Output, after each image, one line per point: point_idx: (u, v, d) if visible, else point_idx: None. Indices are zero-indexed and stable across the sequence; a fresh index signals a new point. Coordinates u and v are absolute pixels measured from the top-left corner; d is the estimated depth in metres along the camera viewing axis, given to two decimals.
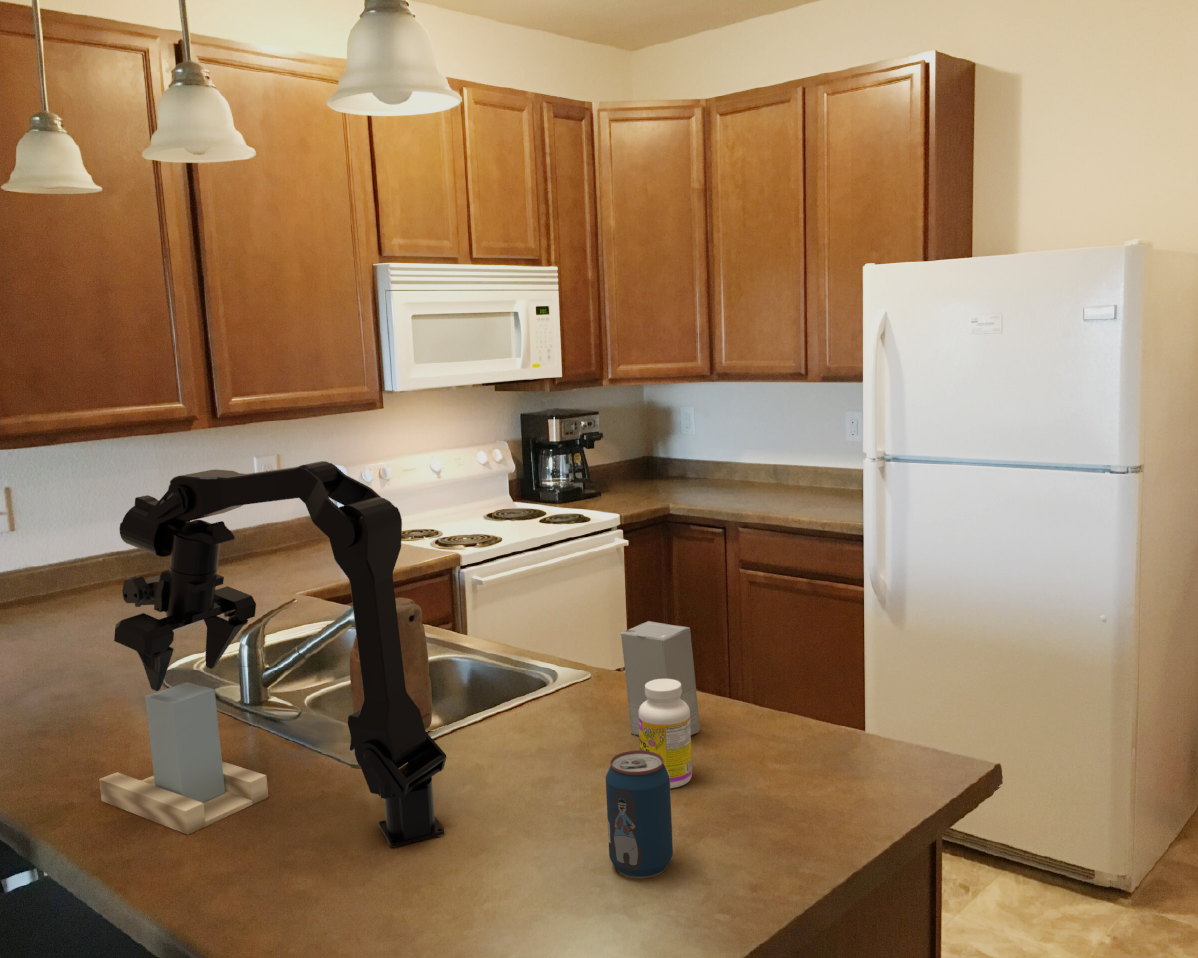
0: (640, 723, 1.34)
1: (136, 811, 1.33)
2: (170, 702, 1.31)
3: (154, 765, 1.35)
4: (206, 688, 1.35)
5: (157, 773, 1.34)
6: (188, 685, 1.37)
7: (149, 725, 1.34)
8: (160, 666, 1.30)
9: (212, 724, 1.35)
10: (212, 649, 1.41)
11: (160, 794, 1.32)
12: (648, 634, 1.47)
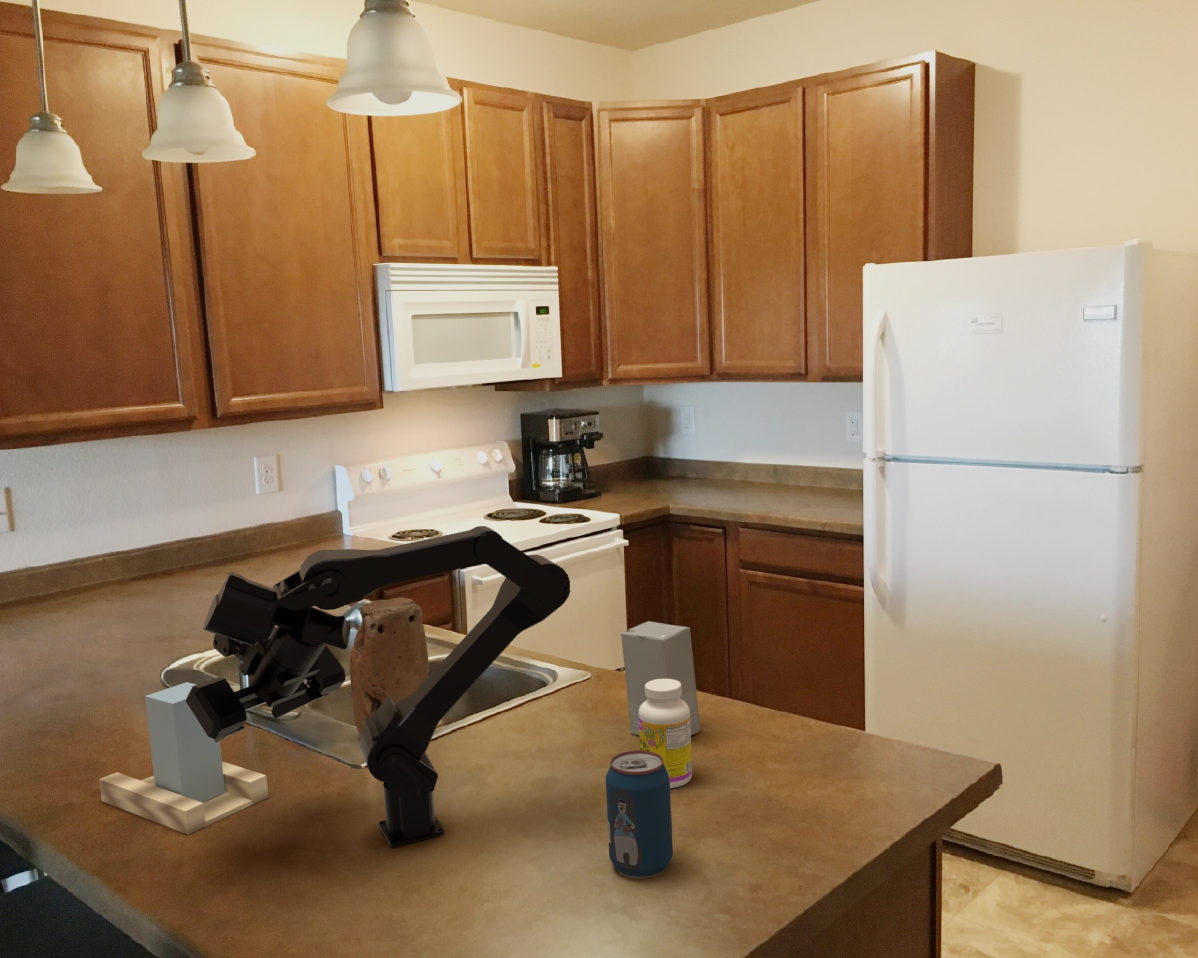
0: (640, 723, 1.34)
1: (136, 811, 1.33)
2: (170, 702, 1.31)
3: (154, 765, 1.35)
4: None
5: (157, 773, 1.34)
6: (188, 685, 1.37)
7: (149, 725, 1.34)
8: (225, 736, 1.20)
9: None
10: (282, 703, 1.29)
11: (160, 794, 1.32)
12: (648, 634, 1.47)
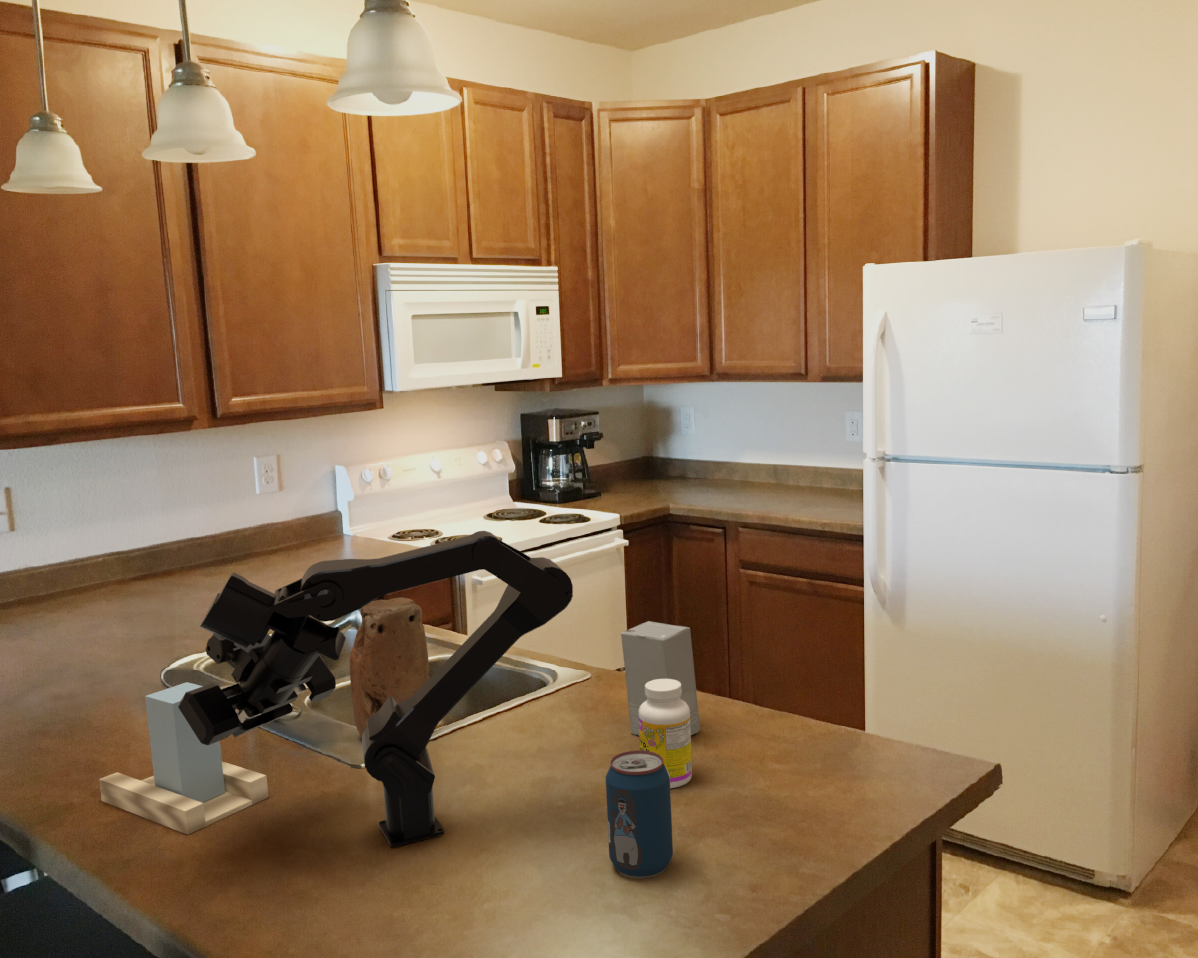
0: (640, 723, 1.34)
1: (136, 811, 1.33)
2: (170, 702, 1.31)
3: (154, 765, 1.35)
4: None
5: (157, 773, 1.34)
6: (188, 685, 1.37)
7: (149, 725, 1.34)
8: (246, 731, 1.24)
9: None
10: None
11: (160, 794, 1.32)
12: (648, 634, 1.47)
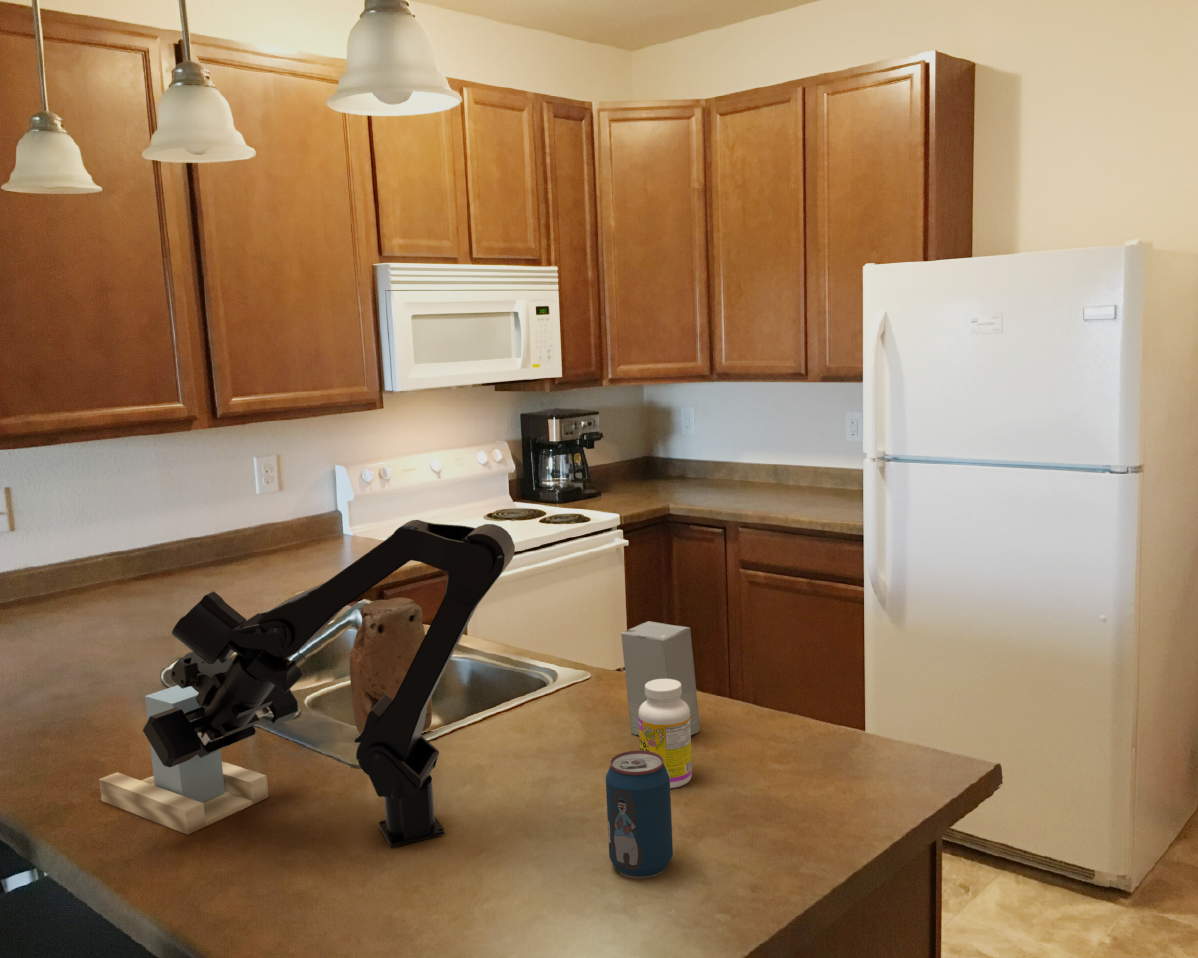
0: (640, 723, 1.34)
1: (136, 811, 1.33)
2: (169, 702, 1.31)
3: (154, 765, 1.35)
4: None
5: (157, 773, 1.34)
6: None
7: None
8: (209, 752, 1.29)
9: None
10: None
11: (160, 794, 1.32)
12: (648, 634, 1.47)
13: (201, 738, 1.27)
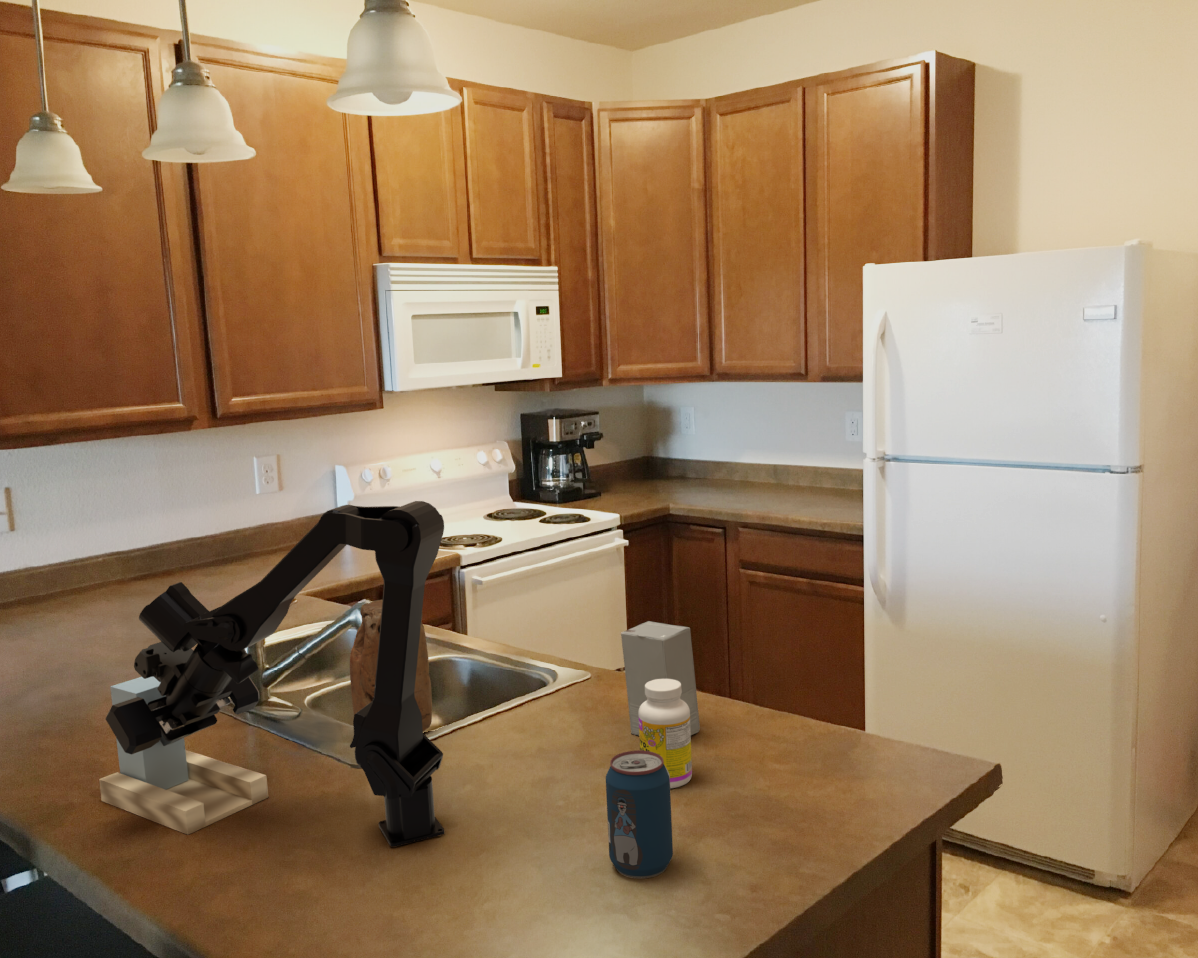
0: (640, 723, 1.34)
1: (136, 811, 1.33)
2: (133, 692, 1.35)
3: (119, 753, 1.39)
4: None
5: (122, 761, 1.39)
6: None
7: None
8: (171, 741, 1.34)
9: None
10: None
11: (160, 794, 1.32)
12: (648, 634, 1.47)
13: (163, 726, 1.31)
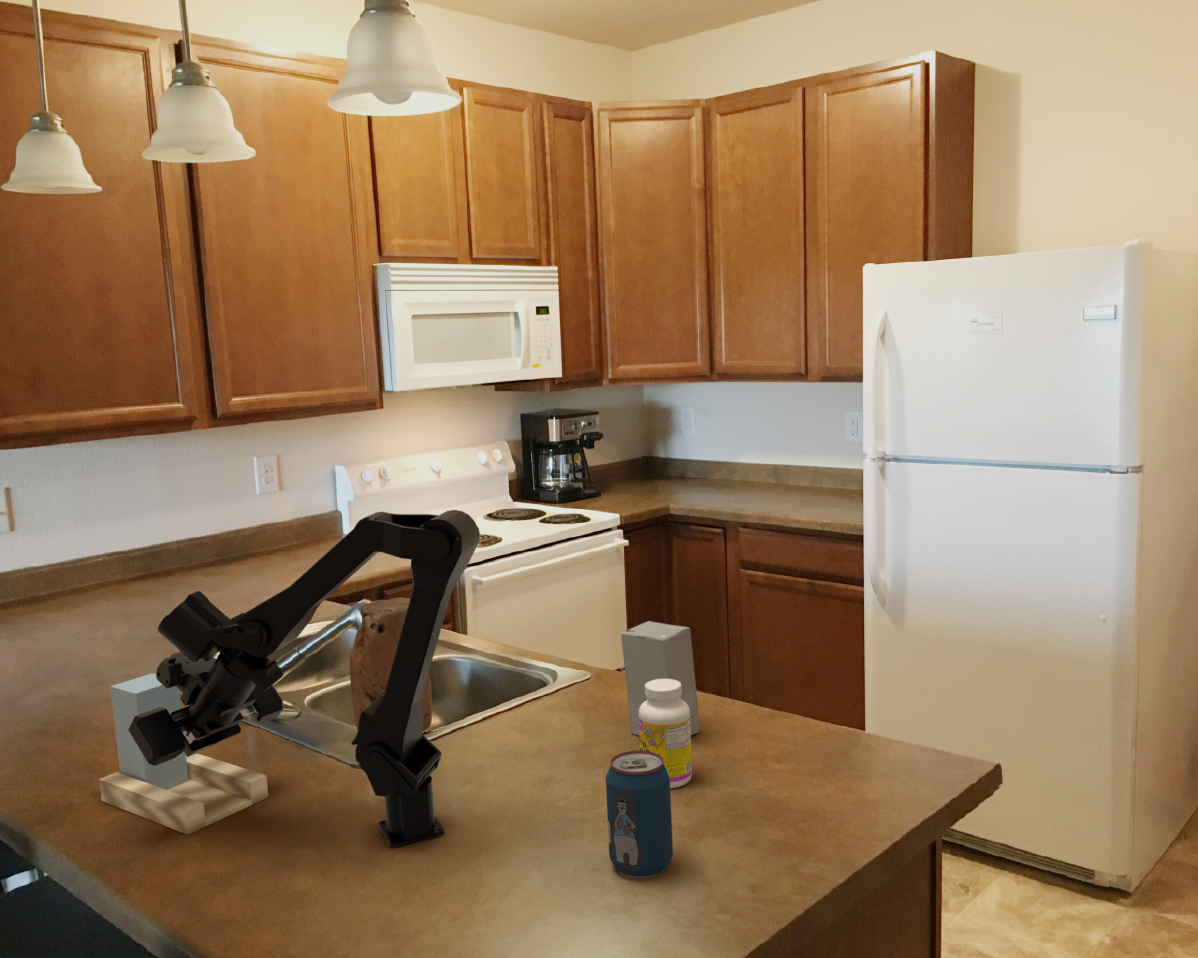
0: (640, 723, 1.34)
1: (136, 811, 1.33)
2: (133, 692, 1.35)
3: (119, 753, 1.39)
4: None
5: (122, 761, 1.39)
6: (153, 676, 1.42)
7: (114, 714, 1.39)
8: (195, 751, 1.31)
9: None
10: None
11: (160, 794, 1.32)
12: (648, 634, 1.47)
13: (186, 737, 1.29)
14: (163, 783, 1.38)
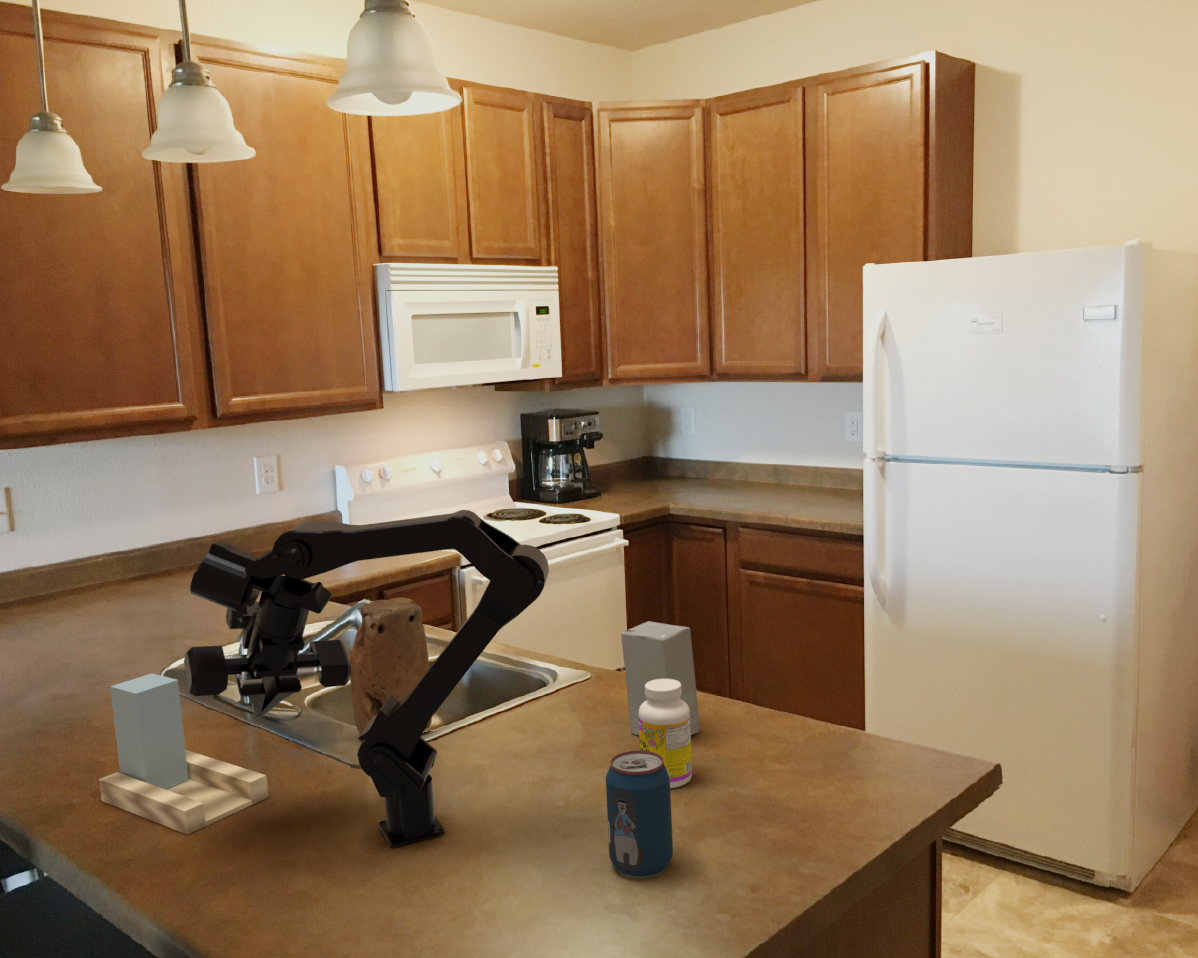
0: (640, 723, 1.34)
1: (136, 811, 1.33)
2: (133, 692, 1.35)
3: (119, 753, 1.39)
4: (170, 679, 1.40)
5: (122, 761, 1.39)
6: (153, 676, 1.42)
7: (114, 714, 1.39)
8: (252, 702, 1.26)
9: (175, 714, 1.40)
10: None
11: (160, 794, 1.32)
12: (648, 634, 1.47)
13: (239, 680, 1.25)
14: (163, 783, 1.38)
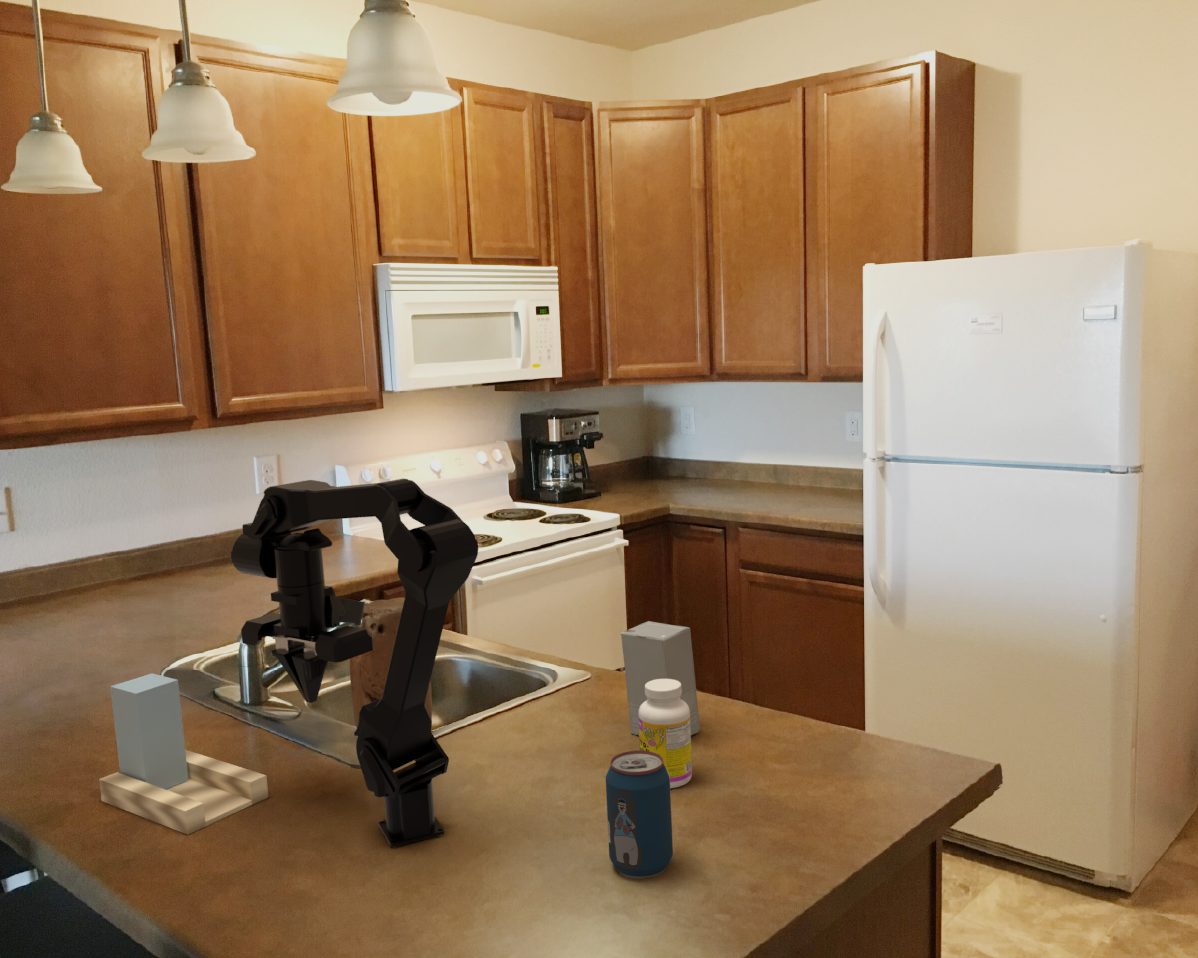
0: (640, 723, 1.34)
1: (136, 811, 1.33)
2: (133, 692, 1.35)
3: (119, 753, 1.39)
4: (170, 679, 1.40)
5: (122, 761, 1.39)
6: (153, 676, 1.42)
7: (114, 714, 1.39)
8: (285, 669, 1.32)
9: (175, 714, 1.40)
10: None
11: (160, 794, 1.32)
12: (648, 634, 1.47)
13: None
14: (163, 783, 1.38)
